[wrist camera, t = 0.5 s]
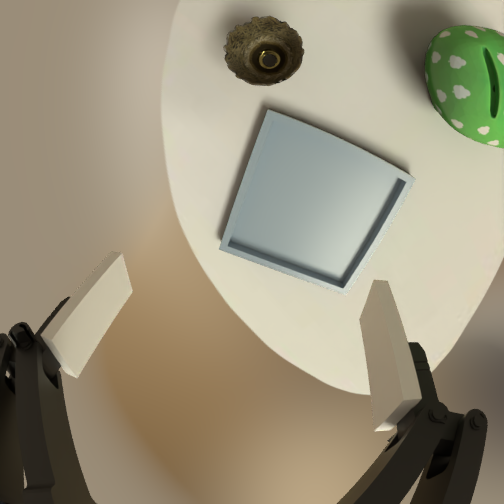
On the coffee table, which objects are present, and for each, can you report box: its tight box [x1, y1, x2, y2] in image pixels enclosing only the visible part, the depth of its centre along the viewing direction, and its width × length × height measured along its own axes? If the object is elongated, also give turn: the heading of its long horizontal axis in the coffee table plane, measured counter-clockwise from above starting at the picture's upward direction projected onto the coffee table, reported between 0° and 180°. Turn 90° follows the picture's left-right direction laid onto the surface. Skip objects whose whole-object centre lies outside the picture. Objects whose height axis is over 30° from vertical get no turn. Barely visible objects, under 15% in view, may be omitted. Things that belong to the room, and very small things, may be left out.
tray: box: [219, 109, 416, 295], centre depth 35 cm, size 20×20×2 cm
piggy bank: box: [425, 25, 504, 148], centre depth 17 cm, size 14×18×15 cm
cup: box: [224, 16, 304, 86], centre depth 24 cm, size 8×7×8 cm
